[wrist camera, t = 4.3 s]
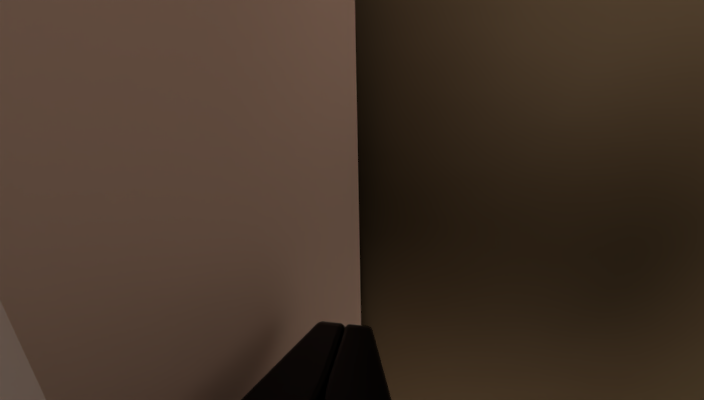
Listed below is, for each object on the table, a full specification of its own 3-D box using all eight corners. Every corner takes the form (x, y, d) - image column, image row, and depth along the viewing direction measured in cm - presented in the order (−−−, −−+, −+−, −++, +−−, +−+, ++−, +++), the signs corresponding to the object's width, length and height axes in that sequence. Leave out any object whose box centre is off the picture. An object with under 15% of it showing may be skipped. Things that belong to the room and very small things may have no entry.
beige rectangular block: (362, 411, 14) (203, 738, 9) (269, 378, 15) (73, 650, 10) (353, -87, 8) (-168, -67, 3) (202, -84, 9) (-394, -64, 4)
